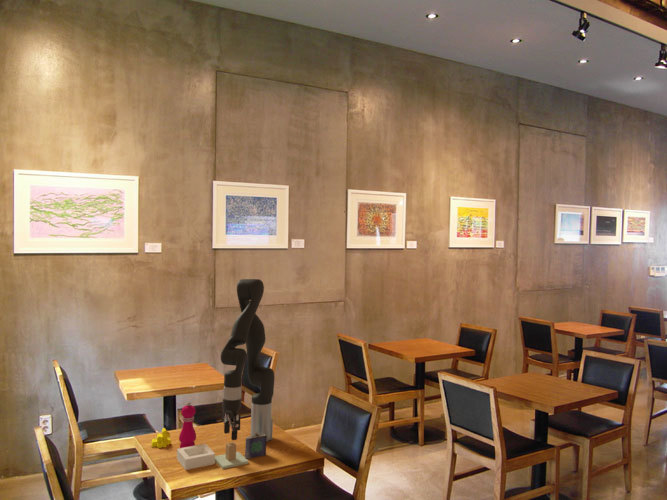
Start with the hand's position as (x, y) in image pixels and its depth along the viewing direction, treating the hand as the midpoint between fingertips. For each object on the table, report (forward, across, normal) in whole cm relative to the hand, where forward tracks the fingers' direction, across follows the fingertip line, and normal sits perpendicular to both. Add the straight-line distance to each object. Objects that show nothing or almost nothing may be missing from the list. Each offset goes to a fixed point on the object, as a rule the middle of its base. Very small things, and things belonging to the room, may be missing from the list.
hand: (230, 436), depth 210 cm
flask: (+11, 0, -12) cm, 16 cm away
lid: (+10, 0, -1) cm, 10 cm away
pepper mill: (+11, +23, +11) cm, 27 cm away
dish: (+11, +6, +12) cm, 17 cm away
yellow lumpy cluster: (+11, +31, +20) cm, 38 cm away
